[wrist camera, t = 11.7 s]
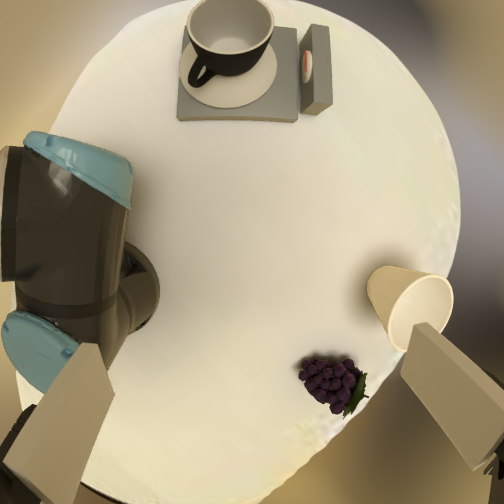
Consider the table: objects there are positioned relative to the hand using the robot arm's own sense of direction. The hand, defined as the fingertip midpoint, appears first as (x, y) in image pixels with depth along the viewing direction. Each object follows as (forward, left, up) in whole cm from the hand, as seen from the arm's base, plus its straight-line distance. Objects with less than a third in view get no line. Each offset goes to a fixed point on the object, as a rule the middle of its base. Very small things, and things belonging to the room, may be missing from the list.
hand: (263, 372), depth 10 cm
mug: (-3, +23, -28) cm, 36 cm away
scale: (+1, +23, -31) cm, 39 cm away
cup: (+24, -9, -32) cm, 41 cm away
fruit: (+17, -26, -32) cm, 44 cm away
